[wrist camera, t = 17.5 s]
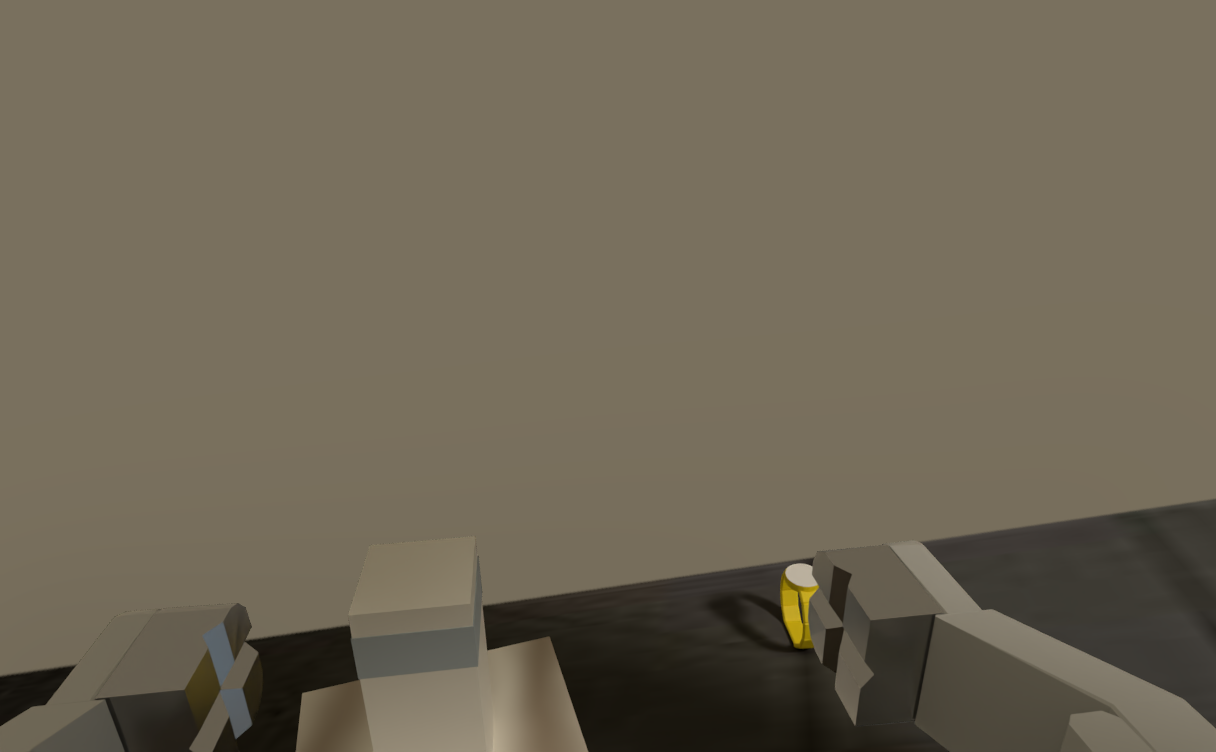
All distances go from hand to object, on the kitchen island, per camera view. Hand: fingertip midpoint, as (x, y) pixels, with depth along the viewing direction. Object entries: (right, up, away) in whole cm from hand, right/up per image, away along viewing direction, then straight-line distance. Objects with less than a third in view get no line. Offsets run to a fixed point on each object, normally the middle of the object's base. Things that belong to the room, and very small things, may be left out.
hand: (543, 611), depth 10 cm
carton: (-8, -18, +30) cm, 36 cm away
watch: (+16, -17, +46) cm, 52 cm away
